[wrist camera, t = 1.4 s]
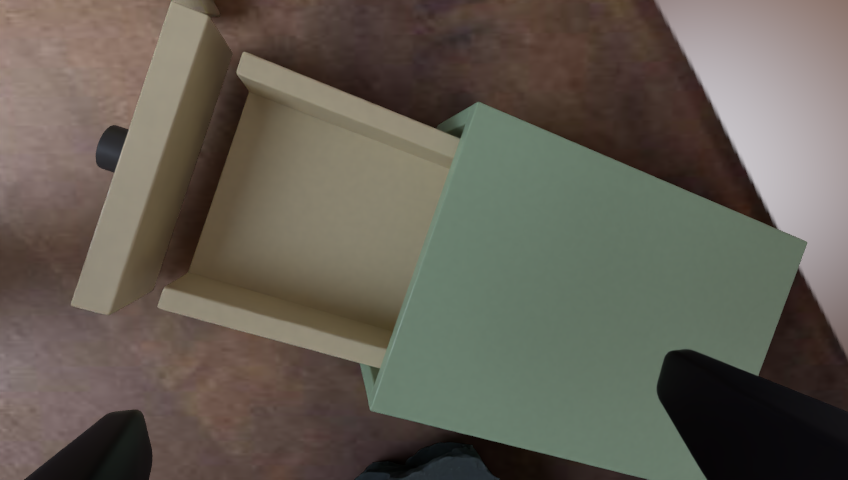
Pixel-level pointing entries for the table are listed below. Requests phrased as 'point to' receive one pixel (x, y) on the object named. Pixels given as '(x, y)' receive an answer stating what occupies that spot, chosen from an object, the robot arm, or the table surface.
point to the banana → (201, 6)
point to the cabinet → (573, 300)
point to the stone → (433, 465)
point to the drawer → (267, 201)
